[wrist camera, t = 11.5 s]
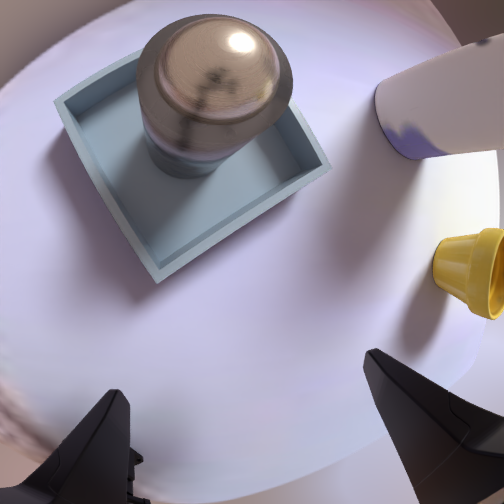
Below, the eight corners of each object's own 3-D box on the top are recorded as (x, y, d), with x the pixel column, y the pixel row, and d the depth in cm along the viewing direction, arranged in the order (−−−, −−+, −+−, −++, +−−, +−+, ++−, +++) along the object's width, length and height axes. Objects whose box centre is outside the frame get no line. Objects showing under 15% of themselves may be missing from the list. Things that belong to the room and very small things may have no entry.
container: (410, 78, 26) (538, 38, 7) (437, 150, 28) (572, 138, 9) (360, 81, 23) (522, 13, 4) (394, 169, 26) (574, 155, 7)
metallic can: (150, 185, 18) (133, 136, 6) (144, 106, 17) (138, -13, 5) (233, 174, 20) (333, 126, 8) (224, 99, 19) (300, -5, 7)
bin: (157, 271, 20) (156, 284, 16) (69, 119, 16) (53, 100, 12) (305, 175, 22) (332, 168, 19) (221, 42, 19) (233, 16, 15)
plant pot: (417, 306, 29) (481, 328, 20) (427, 220, 28) (496, 225, 19) (456, 297, 32) (508, 313, 23) (464, 227, 31) (519, 232, 22)
